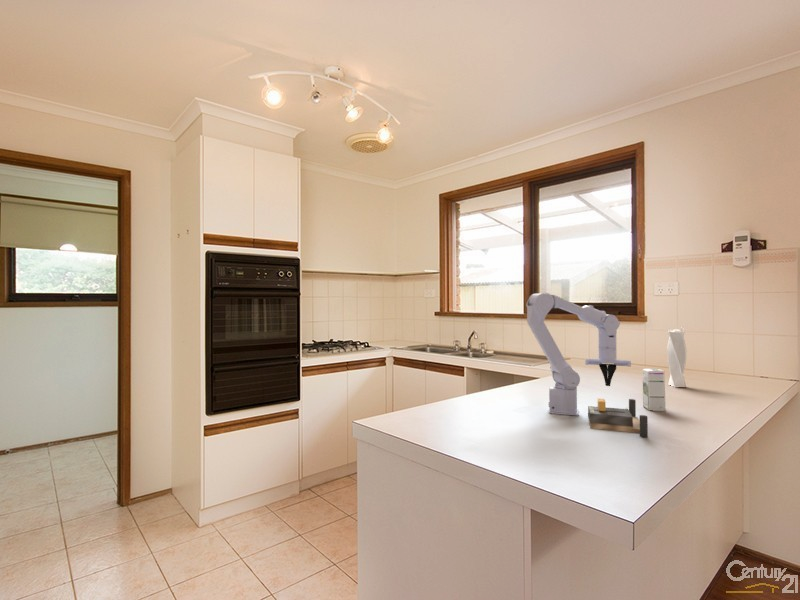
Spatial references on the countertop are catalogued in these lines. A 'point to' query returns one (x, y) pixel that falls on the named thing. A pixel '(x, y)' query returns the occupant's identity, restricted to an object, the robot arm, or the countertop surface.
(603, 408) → the orange cuboid
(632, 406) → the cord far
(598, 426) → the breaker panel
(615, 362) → the robot arm
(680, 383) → the skyscraper
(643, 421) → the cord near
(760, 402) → the countertop surface
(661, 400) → the syrup box
